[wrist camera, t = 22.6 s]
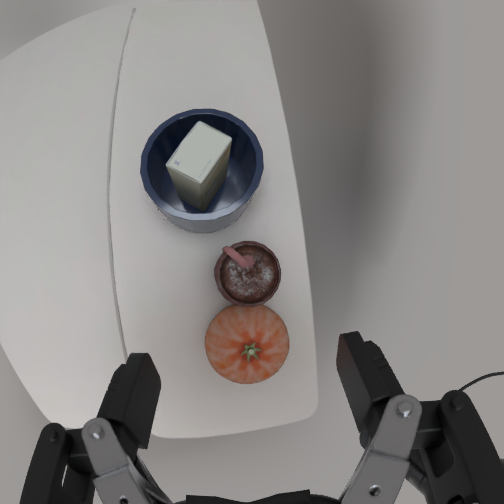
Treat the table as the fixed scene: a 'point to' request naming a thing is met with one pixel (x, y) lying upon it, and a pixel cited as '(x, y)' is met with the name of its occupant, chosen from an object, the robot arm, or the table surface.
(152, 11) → the table surface
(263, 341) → the tomato
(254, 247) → the rusty soda tin
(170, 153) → the pot
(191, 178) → the cosmetic box
